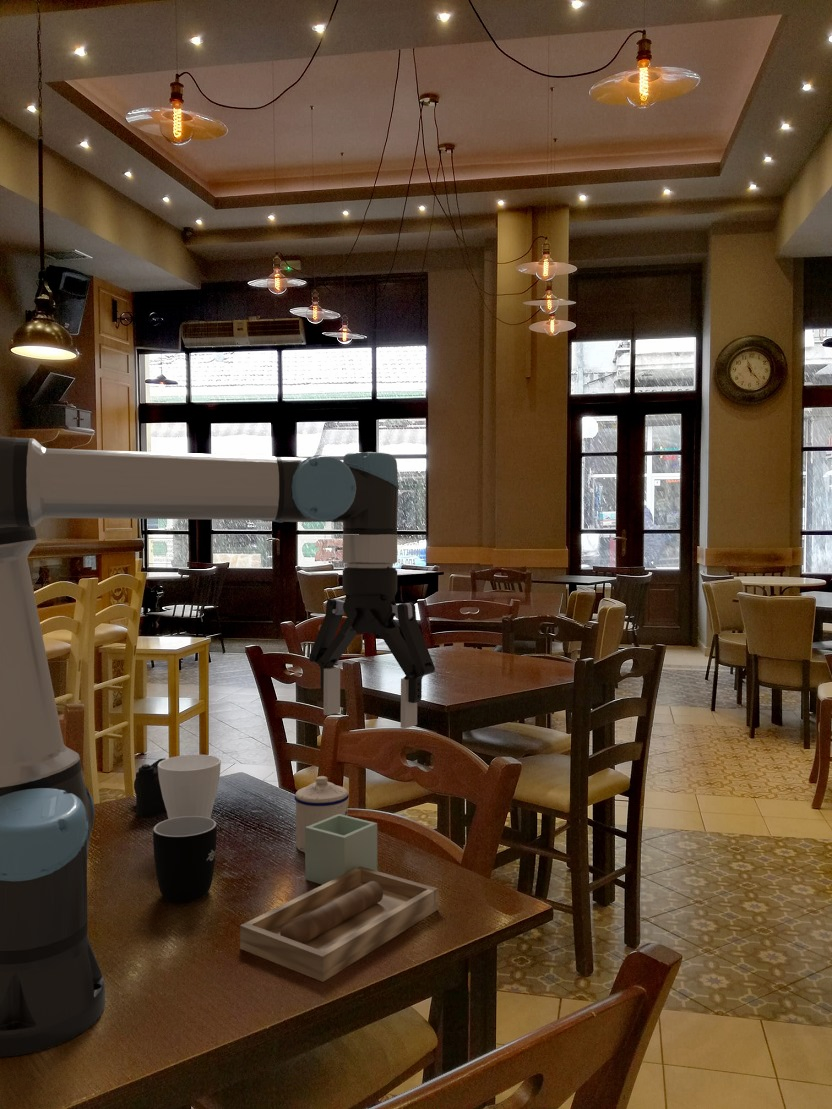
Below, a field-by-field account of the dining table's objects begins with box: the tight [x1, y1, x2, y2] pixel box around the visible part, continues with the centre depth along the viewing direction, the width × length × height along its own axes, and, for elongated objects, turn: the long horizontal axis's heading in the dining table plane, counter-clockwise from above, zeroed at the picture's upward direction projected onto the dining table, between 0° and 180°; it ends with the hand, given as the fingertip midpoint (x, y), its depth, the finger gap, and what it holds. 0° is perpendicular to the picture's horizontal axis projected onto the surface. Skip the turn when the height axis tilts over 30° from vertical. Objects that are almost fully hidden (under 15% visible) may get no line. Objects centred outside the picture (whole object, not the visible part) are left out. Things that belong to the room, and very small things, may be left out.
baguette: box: [280, 881, 383, 944], centre depth 115 cm, size 6×3×17 cm
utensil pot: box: [304, 814, 378, 885], centre depth 134 cm, size 8×8×8 cm
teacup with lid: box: [294, 775, 350, 854], centre depth 148 cm, size 12×9×12 cm
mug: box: [152, 816, 218, 904], centre depth 129 cm, size 12×9×10 cm
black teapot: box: [133, 757, 167, 819], centre depth 169 cm, size 14×11×10 cm
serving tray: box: [239, 866, 439, 983], centre depth 116 cm, size 24×14×3 cm, turn 144°
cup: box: [158, 754, 222, 820], centre depth 149 cm, size 10×10×14 cm
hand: (369, 719), depth 120 cm, fingers open, 13 cm apart
